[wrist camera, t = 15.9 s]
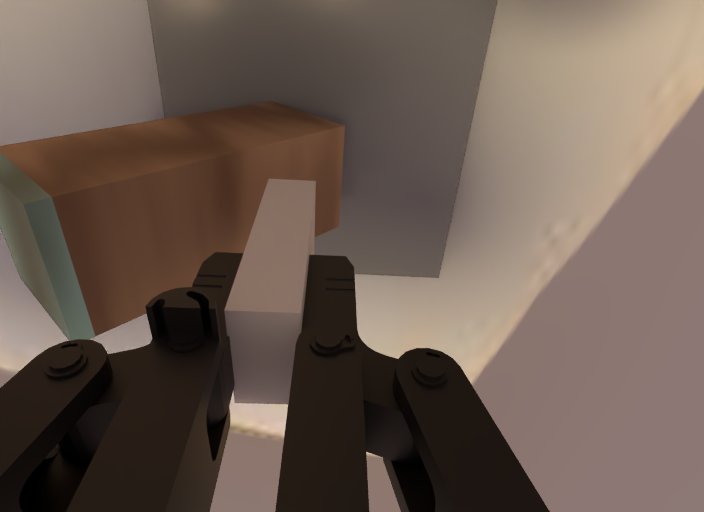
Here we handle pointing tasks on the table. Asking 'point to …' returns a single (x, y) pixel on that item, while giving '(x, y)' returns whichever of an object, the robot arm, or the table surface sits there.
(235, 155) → the walnut block
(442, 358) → the robot arm
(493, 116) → the table surface
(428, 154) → the slate coaster
